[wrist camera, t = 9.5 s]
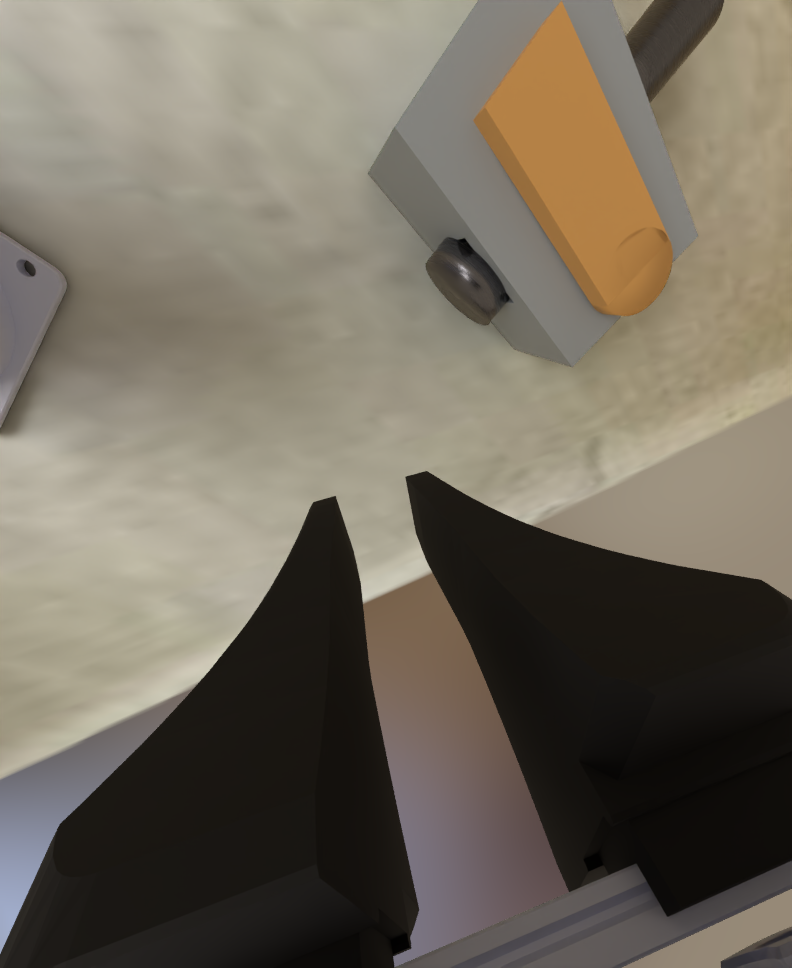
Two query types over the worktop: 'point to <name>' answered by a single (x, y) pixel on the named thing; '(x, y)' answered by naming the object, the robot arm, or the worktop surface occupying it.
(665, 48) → the pin
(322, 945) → the robot arm
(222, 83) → the worktop surface
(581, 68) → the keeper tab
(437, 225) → the block
